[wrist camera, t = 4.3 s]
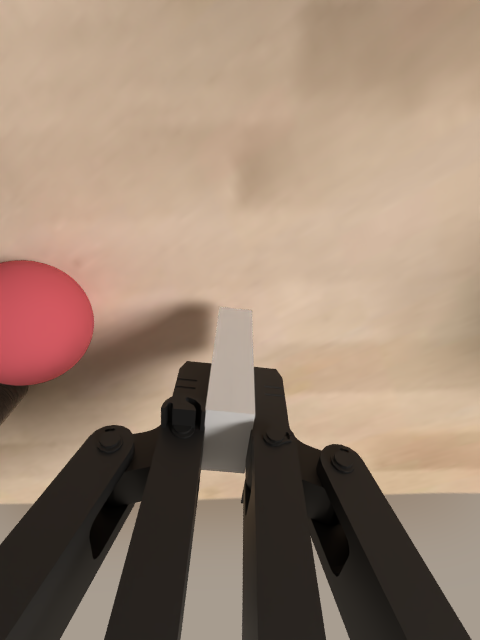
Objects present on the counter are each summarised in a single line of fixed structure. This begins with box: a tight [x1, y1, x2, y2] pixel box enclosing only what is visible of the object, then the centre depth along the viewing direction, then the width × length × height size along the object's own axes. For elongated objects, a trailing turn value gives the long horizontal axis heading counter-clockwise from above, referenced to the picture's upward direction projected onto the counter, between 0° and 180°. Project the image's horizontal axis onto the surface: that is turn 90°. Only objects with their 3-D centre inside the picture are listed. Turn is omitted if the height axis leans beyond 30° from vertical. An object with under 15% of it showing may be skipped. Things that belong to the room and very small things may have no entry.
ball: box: [0, 260, 94, 386], centre depth 16 cm, size 6×6×6 cm
